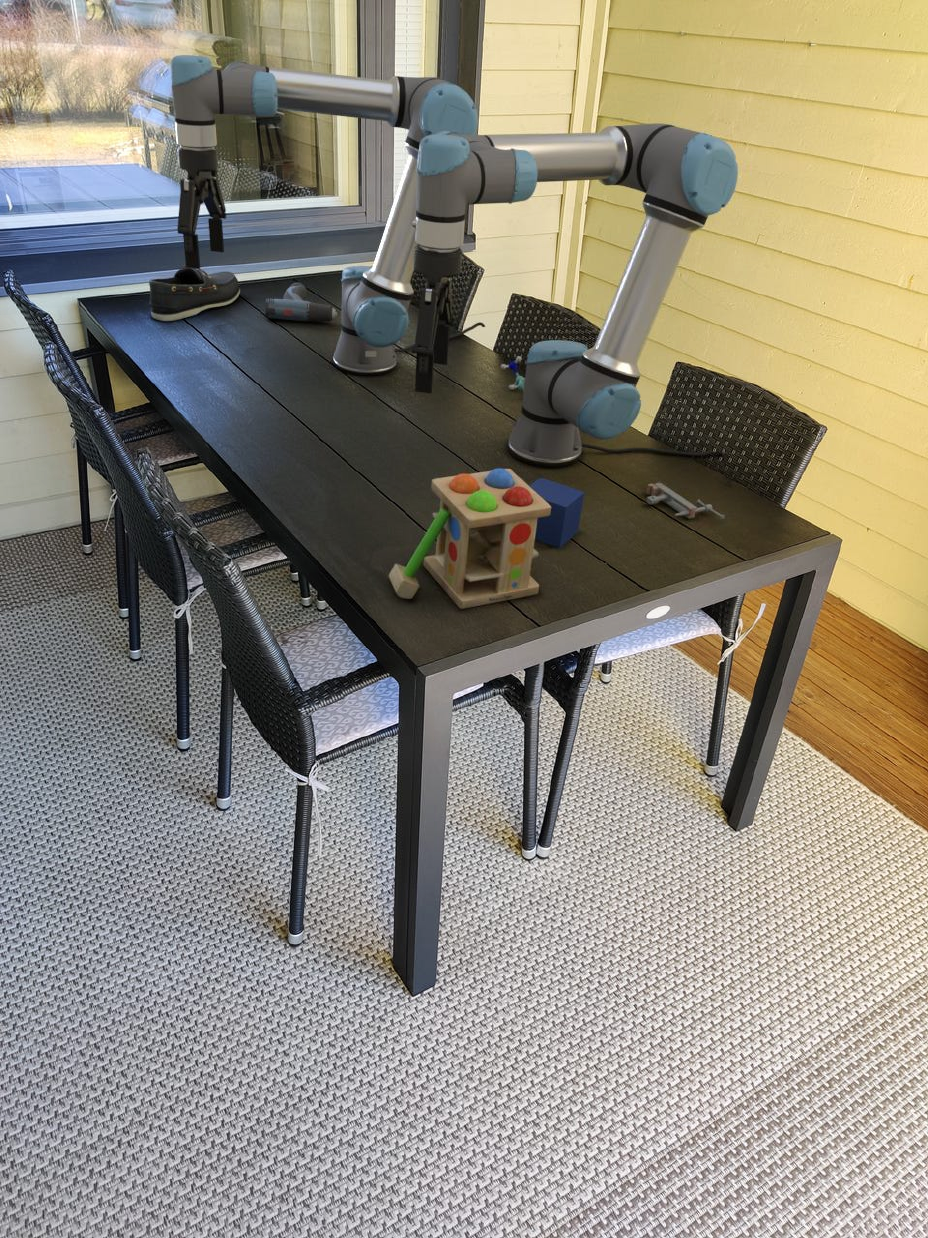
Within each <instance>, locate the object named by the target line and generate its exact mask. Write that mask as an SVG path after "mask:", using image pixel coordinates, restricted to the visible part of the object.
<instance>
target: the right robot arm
mask: <svg viewBox="0 0 928 1238" xmlns="http://www.w3.org/2000/svg"><path fill="white" fill-rule="evenodd" d="M736 159H737V158H736V154H735V152H734V150H733V148H732V147H731V145H729V144H728V142H727V141H725V140H723V139H722V138H718V137H716V136H713V134H708V133H706V132H701V131H695V130H692V129H687V128H685V127H684V128H683V127H680V126H676V125H673V124H669V123H659V122H658V123H640V124H639V123H638V124H628V125H627V124H625V125H609V126H606V127H604V128H602V129H601V130H600V131H599V132H565V133H564V132H563V133H560V132H559V133H508V134H507V133H505V134H503V133H502V134H499V133H498V134H475V135H460V134H458V133H457V132H449V131H442V132H439V133H437V134H435V135H428V136H426V137H424V138H423V139H422V140H421V142H420V145H419V152H418V163H417V168H416V171H417V197H416V221H413V222H412V226H413V227H415V228H416V231H415V242H416V243H417V244H418V245H416V247H415V248H414V272H416V273H417V274H419V275H423V276H424V277H425V278H426V280H425V284H422V287H421V289H419V290H420V291H419V292H420V293H419V294H420V296H419V297H420V298H419V308H418V315H417V324H416V331H415V339H414V344H415V347H414V348H412V349H411V353H412V354H416V357H415V358H416V360H415V378H414V379H415V381H414V383H415V384H414V392H415V393H424V394H432V393H433V386H434V385H433V383H434V367H435V366H434V365H436V364H437V365H443V366H447V365H448V360H449V359H448V357H449V340H450V339H449V336H450V326H452V327H454V325H455V318H452V317H453V315H454V313H453V297H452V296H453V295H452V278H453V277H456V276H459V274H461V271H462V263H463V250H462V248H461V247H463V246H464V238H465V237H464V236H465V224H466V223H465V221H466V206H469V205H470V206H471V205H490V204H508V205H511V204H513V203H519V202H520V203H521V202H525V201H528V200H530V198H531V197H532V196H533V195H534V193H535V191H536V188H537V185H538V183H548V182H550V183H551V182H552V183H553V182H574V181H577V182H578V181H599V182H600V183H601V184H602V185H603V186H620V187H625V188H629V189H633V190H636V191H639V192H642V193H644V194H645V195H644V197H643V200H642V202H641V205H642V207H643V210H644V213H645V218H644V220H643V223H642V226H641V228H640V231H639V233H638V236H637V238H636V241H635V243H634V245H633V248H632V251H631V253H630V256H629V258H628V261H627V263H626V266H625V269H624V271H623V273H622V276H621V278H620V280H619V283H618V286H617V288H616V290H615V293H614V296H613V298H612V300H611V303H610V305H609V308H608V310H607V313H606V316H605V318H604V321H603V323H602V326H601V328H600V331H599V333H598V334H597V335H598V336H597V338H596V341H595V343H594V346H592V347H591V348H588V346H587V345H585V344H584V343H581V342H577V341H571V340H564V339H563V340H562V339H555V340H553V339H552V340H542V341H538V342H536V343H534V344H532V345H531V347H530V348H529V349H528V355H527V359H526V361H525V364H526V367H525V375H524V376H525V377H524V378H525V384H524V393H523V392H522V402H521V411H520V415H519V417H518V419H517V420H511V424H510V426H511V427H513V426H514V427H513V430H512V431H511V433H510V435H509V438H508V444H507V451H508V452H509V454H510V455H511V456H512V457H513V458H515V459H516V460H518V461H520V462H523V463H525V464H527V465H531V466H536V467H541V468H551V469H553V468H563V467H570V466H572V465H574V464H576V463H578V462H579V461H580V460H581V457H582V456H581V455H582V451H583V448H586V449H592V450H596V451H601V452H604V453H609V454H622V453H628V452H629V453H630V452H650V453H656V454H657V453H658V454H666V455H667V454H668V455H676V456H685V457H686V456H687V457H705V456H709V455H713V454H719V456H722V457H724V456H725V457H726V455H725V453H724V452H723V453H721V452H713V451H712V450H713V449H711V450H708V451H704V452H689V451H680V450H679V451H678V450H669V449H659V448H651V447H650V448H649V447H628V448H620V449H618V448H616V449H614V448H613V449H612V448H605V447H602V446H599V445H594V444H588V443H583V442H582V440H581V433H583V434H585V435H589V436H590V437H592V438H595V439H597V440H611V439H614V438H616V437H619V435H620V434H623V433H624V432H626V431H627V430H628V429H629V428H630V427H631V426H632V425H633V424H634V422H635V421H636V420H637V417H638V415H639V414H640V411H641V407H642V400H641V394H640V391H639V390H638V388H637V385H638V383H639V380H640V377H641V371H640V369H639V367H638V362H639V360H640V357H641V354H642V352H643V350H644V348H645V345H646V343H647V341H648V338H649V336H650V333H651V331H652V329H653V326H654V324H655V322H656V319H657V317H658V314H659V312H660V310H661V308H662V305H663V302H664V301H665V298H666V295H667V293H668V290H669V288H670V286H671V283H672V281H673V279H674V277H675V274H676V272H677V268H678V267H679V265H680V262H681V259H682V257H683V255H684V253H685V249H686V248H687V245H688V243H689V240H690V238H691V236H692V234H693V233H695V232H697V231H699V230H702V229H703V228H704V227H705V225H706V222H707V220H708V218H709V216H712V215H715V214H717V213H719V212H720V211H721V210H722V208H725V207H726V206H727V205H728V204H729V202H730V201H731V199H732V197H733V195H734V193H735V190H736V187H737V183H738V176H739V166H738V163H737V161H736ZM580 431H581V433H580Z"/></svg>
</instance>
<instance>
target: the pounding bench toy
mask: <svg viewBox="0 0 928 1238" xmlns="http://www.w3.org/2000/svg"><path fill="white" fill-rule="evenodd" d="M529 486H530V485H528V483H526V482H525V481H524V480H523V479H522V478H521V477H520V476H519V475H517V474H516V472H514V471H513V469H511V468H494V469H492V470H488V471H487V470H486V471H479V472H473V473H458V474H457V475H452V476H444V477H436V478H433V479H431V491H432V492H433V493H434V494H435V495H436V496H437V498H439V499H440V501H439V502H440V503H439V511H438V512H433V513H432V517H433V521H432V522H431V524H430V526H429V527H428V529H427V530H426V532H425V534H424V536H423V538H422V539H421V541H420V543H419V544H418V546H417V547H416V549H415V551H414V553H413V554H412V556H411V558H410V559H409V560H408V563H407V565H406V566H404V565H402V564H398V563H394V566H393V567H392V568H391V570H390V571H389V574H388V579H389V581H390V583H391V585H392V587H393V589H394V592H395V594H396V595H397V597H399V598H402V599H406V600H410V599H413V597H414V596H415V595H416V593H417V591H418V589H419V588H420V584H419V581H418V580H417V578H416V573H417V572H418V570H419V568H420V566H421V565H422V563H423V567H424V568H425V569H426V570H427V572H428V573H429V575H430V576H432V578H433V579H434V580H435V581H436V583H437V584H438V585H439V586H440V587H441V588H442V589H443V591H444V592H445V593H446V595H448V597H449V598H450V599H451V600H452V601H453V603H454V604H456V606H457V607H458V608H459V609H461V610H462V609H469V608H474V607H479V606H485V605H490V604H494V603H500V602H503V601H510V600H515V599H520V598H525V597H530V596H535V595H537V594H539V589H540V584H539V583H538V582H537V581H536V580H535V579H534V578H533V577H532V576H531V569H532V564H533V563H532V562H533V559H534V558H538V557H539V552H538V551H537V550H536V549H535V548H534V547H535V541H536V539H535V534H536V527H537V519H538V517H545V516H549V515H550V512H551V506H550V505H549V504H548V503H547V502H546V501H545V500H544V499H543V498H542V497H541V496H539V495H538V494H537V493H536V492H535V491H534V490H533V489H531V488H530V487H529ZM476 531H477V532H476ZM471 532H476V533H475V534H473V535H471ZM435 542H436V546H435V554H434V555H428V554H429V551H430V550H431V548H432V547H433V546H434V543H435ZM427 555H428V556H427Z"/></svg>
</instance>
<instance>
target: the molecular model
mask: <svg viewBox="0 0 928 1238" xmlns="http://www.w3.org/2000/svg"><path fill="white" fill-rule="evenodd" d="M522 359H523V358H522V356H521V355H520V356H519V355H518V356H516V359H515V360H514V361H511V362H510V363H509V364H505V363H502V364H501V365H500V369H501V370H503V371H504V370H506V369H510V370H513V372H514V374H515V376H516V378H515V382H514V384H510V385H508V390H510V391H514V390H516V389H518V390H519V391H521V392H522V394H523V393H524V384H525V377H523V376H522V375H520V374H519V371H518V370H517V366H518V365H517V364H518V363H519V362H521V361H522Z"/></svg>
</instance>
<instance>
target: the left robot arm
mask: <svg viewBox="0 0 928 1238" xmlns="http://www.w3.org/2000/svg"><path fill="white" fill-rule="evenodd" d="M170 79H171V80H170V82H171V93H172V105H173V114H174V123H175V125H174V126H173V131H174V132H175V135H176V144H177V145H178V146H179V147H178V148H177V149H176V151H177V162H178V167H179V168H180V169H181V170H183V171H185V172H186V173H187V174H186V178H180V180H179V185H180V187H179V188H180V193H179V194H180V195H179V206H178V217H177V234H180V235H183V236H182V237H183V249H184V261H185V266H186V267H187V268H196V270H199V269H201V259H200V245H199V234H198V233H196V232H197V228H198V227H197V226H198V221H199V217H200V212H201V211H200V210H201V205H203V204H204V206H205V208H206V210H207V213H208V215H209V217H208V218H207V219H208V220H207V221H208V234H209V235H208V237H209V247H210V252H214V253H215V252H216V253H225V244H224V228H223V219H224V220H226V219H227V213H226V212H227V207H226V205H225V201H224V197H223V193H222V190H221V189H222V188H221V186H220V185H221V184H220V181H219V174H218V168H219V159H218V150H217V149H216V148H215V147H217V145H218V140H217V130H216V118H215V115H236V116H254V117H258V118H261V117H273V116H275V115H276V114H277V111H278V110H283V111H293V112H300V113H311V114H320V115H327V116H329V115H330V116H338V117H346V118H356V119H365V120H373V121H374V120H375V121H383V122H387V123H388V125H389V126H390V127H391V128H399V129H405V130H408V132H407V135H406V138H405V141H404V145H405V147H406V151H407V153H408V156H407V159H406V162H405V166H404V169H403V172H402V175H401V178H400V181H399V185H398V187H397V191H396V194H395V197H394V200H393V203H392V206H391V209H390V213H389V215H388V218H387V222H386V225H385V227H384V231H383V234H382V238H381V240H380V243H379V246H378V249H377V252H376V256H375V258H374V261H373V265H352V266H347V267H345V268H344V269H343V270H342V273H341V279H340V283H341V319H340V321H341V324H340V325H341V326H340V329H341V330H340V336H339V338H338V341H337V344H336V348H335V350H334V352H333V361H332V362H333V363H332V364H333V366H334V367H335V368H337V369H338V370H339V371H342V372H344V373H347V374H352V375H356V376H380V375H381V376H382V375H386V374H389V373H391V372H393V371H395V369H396V368H397V354H396V353H405V352H408V351H411V350H412V348H414V347H415V343H413V344H411V345H409V346H407V347H404V348H395V347H394V345H395V344H397V343H399V342H400V341H401V340H402V339H403V337H404V336H405V335H406V333H407V331H408V327H409V314H408V309H409V307H410V304H411V301H412V298H413V295H414V289H413V286H412V285H411V279H412V276H413V275H414V272H415V270H414V248H415V247H416V245H418V244H417V243H416V242H415V231H416V228H415V227H413V226H412V222H413V221H416V197H417V171H416V168H417V163H418V152H419V145H420V142H421V140H422V139H423V138H424V137H426V136H428V135H435V134H437V133H439V132H442V131H449V132H457V133H458V134H460V135H477V134H476V133H477V129H478V125H479V124H478V122H479V115H478V111H477V108H476V105H475V102H474V101H473V99H472V97H470V94H468V92H466V91H465V90H464V88H463V87H460V86H458V85H457V84H454V83H451V82H449V81H448V80H447V79H444V78H440V77H436V76H435V77H434V76H433V77H432V76H423V77H421V76H420V77H416V76H415V77H413V76H400V75H393V76H392V77H391V78H390V79H389V80H385V79H377V78H369V77H360V76H351V75H344V74H335V73H325V72H318V71H310V70H301V69H292V68H284V67H275V66H264V65H258V64H250V63H248V62H246V61H238V60H237V61H233V62H231V63H229V64H228V65H227V66H226V67H225V68H224V69H217V68H213V64H212V61H211V59H210V58H209V57H207V56H204V55H203V56H202V55H193V54H192V55H191V54H181V55H179V54H178V55H175V56H173V57H172V58H171V60H170ZM479 326H481V327H482V328H486V325H485V323H483V322H476V323H474V324H472V325H471V326H469V327H467V328H465V329H463V330H462V331H459V332H458V333H455V334H452V335H449V340H452V339H454V338H458V337H461V336H463V335H465V334H466V333H468V332H470V331H472V330H474V329H476V328H477V327H479Z"/></svg>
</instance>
